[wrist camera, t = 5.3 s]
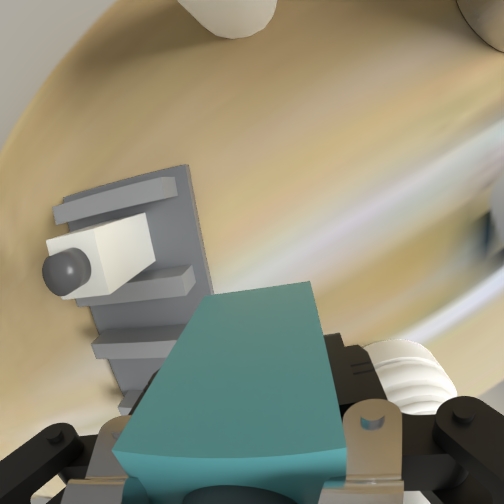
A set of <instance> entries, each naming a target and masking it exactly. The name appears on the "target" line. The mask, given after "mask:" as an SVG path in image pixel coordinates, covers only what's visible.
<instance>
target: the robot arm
mask: <svg viewBox="0 0 504 504" xmlns="http://www.w3.org/2000/svg"><path fill="white" fill-rule="evenodd" d="M457 3H458V6H459V8H460V10H461V12H462V14H463V16H464V17H465V19H466V21H467V22H468V24H469V25H470V26H471V27H472V29H473V30H474V31H475V32H476V33H477V34H478V35H479V36H480V37H481V38H482V39H483V40H484V41H485V42H487V43H488V44H489V45H491V46H492V47H494V48H495V49H497V50H499V51H502V52H504V0H457ZM323 337H324V341H325V345H326V350H327V354H328V359H329V363H330V367H331V372H332V377H333V381H334V386H335V391H336V395H337V400H338V405H339V410H340V415H341V420H342V425H343V430H344V435H345V440H346V446H347V472H346V475H345V476H338V477H330V479H329V480H326V481H325V483H324V485H323V488H322V491H321V495H320V498H319V502H318V504H403V497H404V491H420V492H421V493H422V494H423V496H424V497H425V498H426V499H427V500H428V501H429V502H430V503H431V504H504V416H503V415H502V414H500V413H499V412H497V411H496V410H494V409H493V408H491V407H490V406H489V405H487V404H486V403H484V402H483V401H481V400H479V399H477V398H474V397H470V396H459V397H454V398H451V399H449V400H447V401H445V402H444V403H442V404H441V405H440V406H439V408H438V409H437V412H436V414H431V415H411V414H406V413H403V412H401V411H400V409H399V407H398V406H397V405H395V404H394V403H392V402H390V401H388V399H387V397H386V394H385V392H384V389H383V387H382V384H381V382H380V380H379V377H378V375H377V373H376V371H375V368H374V365H373V363H372V361H371V358H370V356H369V354H368V352H367V351H366V350H365V349H363V348H362V347H360V346H359V345H353V346H347V347H344V344H343V341H342V338H341V335H340V333H335V334H328V335H323ZM159 370H160V369H159ZM159 370H157V371H156V372H155V373H153V375H152V377H151V378H150V380H149V381H148V385H146V386H145V388H144V389H143V392H142V393H141V394H140V396H139V398H138V399H137V401H136V402H135V404H134V406H133V407H132V409H131V411H130V412H129V414H128V415H123V416H119V417H116V418H113V419H111V420H109V421H108V422H106V423H105V424H104V425H103V426H102V427H101V429H100V431H99V434H97V435H88V436H79V435H78V434H77V432H76V430H75V429H74V427H73V426H72V425H70V424H67V423H56V424H53V425H50V426H48V427H47V428H45V429H44V430H42V431H41V432H39V433H38V434H37V435H35V436H34V437H33V438H31V439H30V440H29V441H27V442H26V443H25V444H23V445H22V446H20V447H19V448H18V449H16V450H15V451H14V452H12V453H11V454H10V455H8V456H7V457H5V458H4V459H3V460H1V461H0V504H31V502H30V499H31V496H32V495H33V494H34V493H35V492H36V491H37V490H38V489H40V488H41V487H42V486H43V485H45V484H46V483H47V482H48V481H49V480H51V479H52V478H53V477H54V476H55V475H57V474H58V476H59V477H60V478H61V479H62V481H63V482H64V483H65V484H66V487H65V488H64V489H63V490H61V491H60V492H59V493H58V494H57V495H56V496H54V497H53V498H52V499H51V500H50V501H49V502H47V503H46V504H150V502H149V499H148V495H147V491H146V489H145V488H144V486H143V485H142V483H141V482H140V480H139V479H138V477H130V476H128V475H127V474H126V472H125V471H124V469H123V468H122V466H121V464H120V463H119V461H118V460H117V458H116V457H115V455H114V453H113V452H112V448H113V447H114V445H115V443H116V442H117V440H118V438H119V437H120V435H121V433H122V431H123V430H124V428H125V426H126V425H127V423H128V421H129V420H130V418H131V416H132V415H133V413H134V411H135V410H136V408H137V406H138V405H139V403H140V401H141V400H142V398H143V396H144V395H145V393H146V391H147V390H148V388H149V386H150V385H151V383H152V381H153V380H154V378H155V376H156V375H157V373H158V371H159Z"/></svg>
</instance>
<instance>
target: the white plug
mask: <svg viewBox="0 0 504 504" xmlns="http://www.w3.org/2000/svg"><path fill="white" fill-rule="evenodd" d="M46 243H47V247H48V251H49V255H50V256H49V257H48V258H47V259H46V260H45V261H44V264H43V268H42V273H43V279H44V281H45V284H46V285H47V287H48V288H49V290H50V291H51V292H52V293H54V294H55V295H58V296H61V298H62V300H66V299H75V298H84V297H93V296H102V295H110V294H111V293H113V292H114V291H115V290H117V289H118V288H119V287H121V286H122V285H123V284H125V283H126V282H127V281H129V280H130V279H131V278H133V277H134V276H135V275H137V274H138V273H140V272H141V271H142V270H144V269H145V268H146V267H148V266H149V265H150V264H152V263H153V262H155V261H156V260H155V255H154V251H153V247H152V242H151V238H150V233H149V228H148V224H147V219H146V214H145V213H140V214H135V215H131V216H126V217H122V218H118V219H113V220H109V221H105V222H101V223H98V224H95V225H92V226H88V227H85V228H82V229H79V230H76V231H73V232H70V233H67V234H64V235H60V236H57V237H55V238H52V239H49V240H46Z"/></svg>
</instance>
